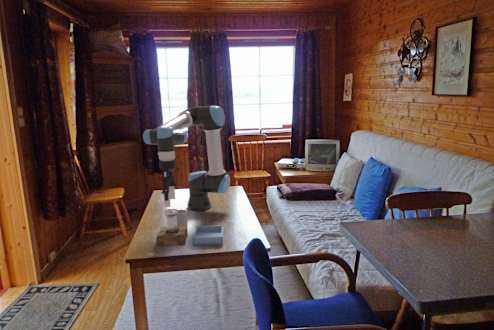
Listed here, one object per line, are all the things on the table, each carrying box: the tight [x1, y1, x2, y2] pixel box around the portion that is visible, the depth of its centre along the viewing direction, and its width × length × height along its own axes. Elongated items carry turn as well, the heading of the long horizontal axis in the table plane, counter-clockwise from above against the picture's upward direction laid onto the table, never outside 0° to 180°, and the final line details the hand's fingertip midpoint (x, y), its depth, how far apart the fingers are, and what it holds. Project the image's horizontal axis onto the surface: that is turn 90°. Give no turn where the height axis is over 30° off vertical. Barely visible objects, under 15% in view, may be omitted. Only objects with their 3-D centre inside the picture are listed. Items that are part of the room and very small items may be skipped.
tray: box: [192, 224, 225, 247], centre depth 180 cm, size 16×14×4 cm
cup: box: [176, 209, 189, 228], centre depth 197 cm, size 7×10×9 cm
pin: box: [163, 208, 179, 233], centre depth 179 cm, size 6×6×15 cm
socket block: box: [156, 226, 189, 247], centre depth 180 cm, size 13×13×5 cm
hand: (170, 202), depth 176 cm, fingers open, 13 cm apart
